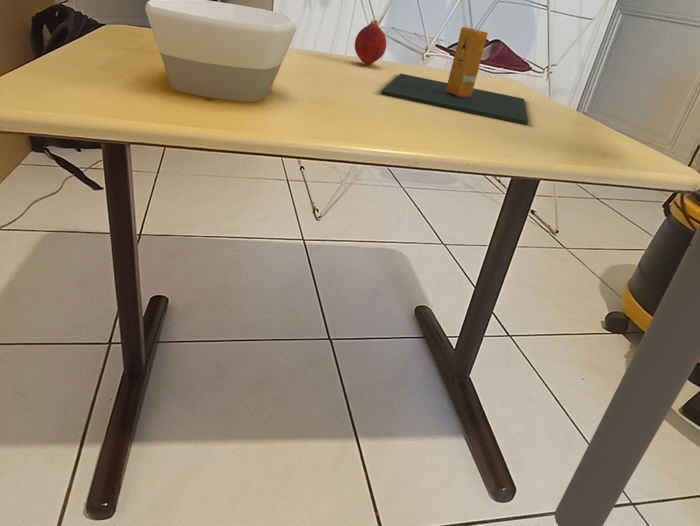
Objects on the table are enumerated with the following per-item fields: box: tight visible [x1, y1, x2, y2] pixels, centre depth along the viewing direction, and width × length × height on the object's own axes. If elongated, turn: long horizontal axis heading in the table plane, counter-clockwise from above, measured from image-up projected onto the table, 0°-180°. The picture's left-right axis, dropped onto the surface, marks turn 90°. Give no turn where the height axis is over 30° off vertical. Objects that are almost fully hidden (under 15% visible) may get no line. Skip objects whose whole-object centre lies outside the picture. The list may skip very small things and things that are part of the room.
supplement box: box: [446, 26, 489, 97], centre depth 88 cm, size 3×3×10 cm
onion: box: [354, 19, 387, 67], centre depth 102 cm, size 6×6×8 cm
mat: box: [380, 73, 529, 126], centre depth 90 cm, size 22×18×1 cm
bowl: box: [144, 0, 297, 103], centre depth 70 cm, size 18×18×9 cm
